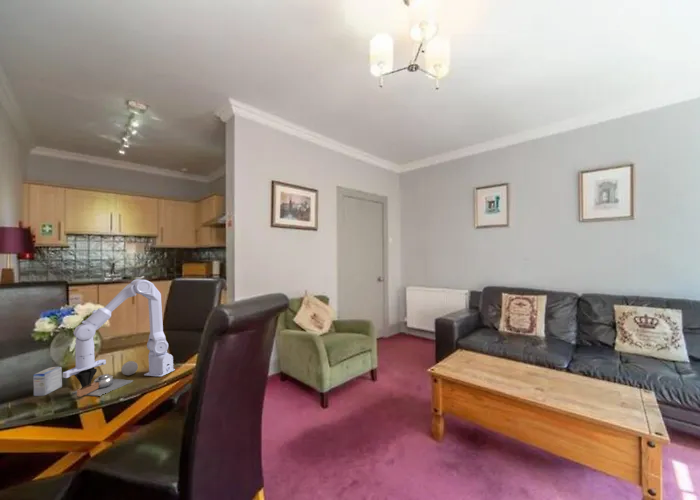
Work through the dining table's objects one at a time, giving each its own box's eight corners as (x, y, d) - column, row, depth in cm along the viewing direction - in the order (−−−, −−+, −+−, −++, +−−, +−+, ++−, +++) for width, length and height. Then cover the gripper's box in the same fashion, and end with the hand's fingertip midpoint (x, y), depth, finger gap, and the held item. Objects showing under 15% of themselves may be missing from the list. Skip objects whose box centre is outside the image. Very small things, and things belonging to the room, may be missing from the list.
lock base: (133, 381, 132) (133, 380, 132) (99, 396, 118) (99, 395, 118) (107, 379, 135) (107, 378, 135) (72, 393, 122) (72, 392, 122)
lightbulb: (120, 376, 143) (124, 378, 136) (116, 363, 143) (121, 365, 136) (135, 370, 148) (140, 372, 140) (132, 358, 148) (137, 359, 140)
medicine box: (51, 387, 129) (50, 367, 129) (62, 386, 129) (61, 366, 129) (33, 396, 121) (32, 374, 121) (45, 395, 121) (44, 373, 121)
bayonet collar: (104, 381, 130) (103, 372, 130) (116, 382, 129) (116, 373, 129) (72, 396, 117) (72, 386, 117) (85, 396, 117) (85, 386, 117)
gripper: (96, 348, 130) (97, 380, 130) (56, 360, 116) (57, 396, 116) (109, 349, 128) (110, 381, 128) (70, 361, 114) (71, 397, 114)
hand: (86, 388), depth 122 cm, fingers closed
